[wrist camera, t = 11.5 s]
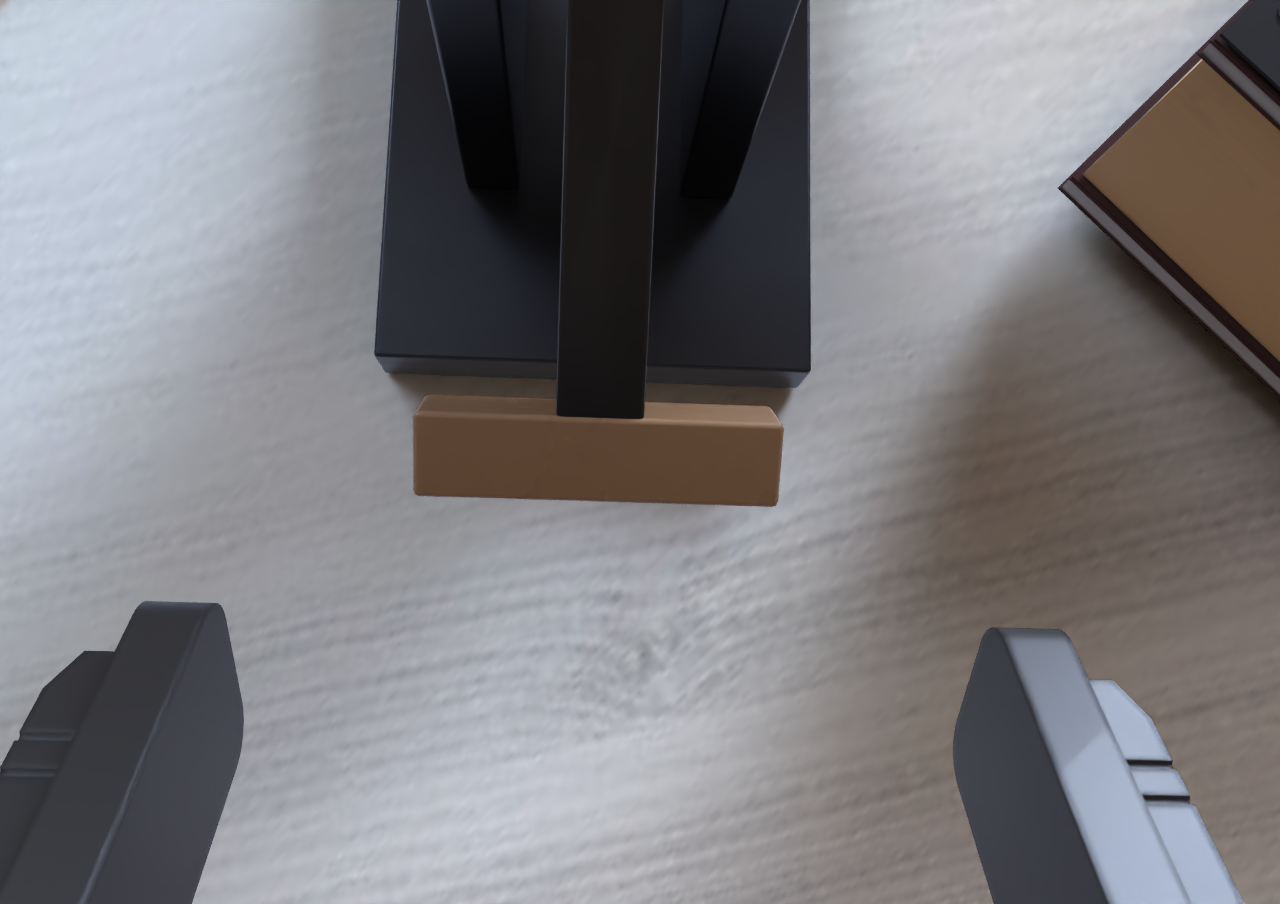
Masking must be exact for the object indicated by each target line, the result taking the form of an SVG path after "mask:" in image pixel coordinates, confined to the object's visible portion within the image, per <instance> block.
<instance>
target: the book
mask: <svg viewBox="0 0 1280 904" xmlns="http://www.w3.org/2000/svg"><path fill="white" fill-rule="evenodd" d="M1058 189H1059V190H1060V191H1061V192H1062V193H1063V194H1064V195H1065V196H1066V197H1067V198H1069V199H1070V200H1071V201H1072V202H1073V203H1074V204H1075V205H1076V206H1077V207H1078V208H1079V209H1080V210H1081V211H1082V212H1083V213H1084V214H1085V215H1086V216H1087V217H1089V218H1090V219H1091V220H1092V221H1093V222H1094V223H1095V224H1096V225H1097V226H1098V227H1099V228H1100V229H1101V230H1102V231H1103V232H1104V233H1105V234H1106V235H1107V236H1109V237H1110V238H1111V239H1112V240H1113V241H1114V242H1115V243H1116V244H1117V245H1118V246H1119V247H1120V248H1121V249H1122V250H1123V251H1124V252H1125V253H1126V254H1127V255H1129V256H1130V257H1131V258H1132V259H1133V260H1134V261H1135V262H1136V263H1137V264H1138V265H1139V266H1140V267H1141V268H1142V269H1143V270H1144V271H1145V272H1146V273H1147V274H1149V275H1150V276H1151V277H1152V278H1153V279H1154V280H1155V281H1156V282H1157V283H1158V284H1159V285H1160V286H1161V287H1162V288H1163V289H1164V290H1165V291H1166V292H1167V293H1169V294H1170V295H1171V296H1172V297H1173V298H1174V299H1175V300H1176V301H1177V302H1178V303H1179V304H1180V305H1181V306H1182V307H1183V308H1184V309H1185V310H1186V311H1187V312H1189V313H1190V314H1191V315H1192V316H1193V317H1194V318H1195V319H1196V320H1197V321H1198V322H1199V323H1200V324H1201V325H1202V326H1203V327H1204V328H1205V329H1206V330H1207V331H1209V332H1210V333H1211V334H1212V335H1213V336H1214V337H1215V338H1216V339H1217V340H1218V341H1219V342H1220V343H1221V344H1222V345H1223V346H1224V347H1225V348H1226V349H1227V350H1229V351H1230V352H1231V353H1232V354H1233V355H1234V356H1235V357H1236V358H1237V359H1238V360H1239V361H1240V362H1241V363H1242V364H1243V365H1244V366H1245V367H1246V368H1247V369H1249V370H1250V371H1251V372H1252V373H1253V374H1254V375H1255V376H1256V377H1257V378H1258V379H1259V380H1260V381H1261V382H1262V383H1263V384H1264V385H1265V386H1266V387H1267V388H1269V389H1270V390H1271V391H1272V392H1273V393H1274V394H1275V395H1276V396H1277V397H1278V398H1279V399H1280V0H1249V1H1248V2H1247V3H1246V4H1245V5H1244V6H1243V7H1242V8H1240V9H1239V10H1238V11H1237V12H1236V13H1235V14H1234V15H1233V16H1232V17H1231V18H1230V19H1229V20H1228V21H1227V22H1226V23H1225V24H1224V25H1223V26H1222V27H1221V28H1220V29H1219V30H1218V31H1217V32H1216V33H1215V34H1214V35H1213V36H1212V37H1211V38H1210V39H1209V40H1208V41H1207V42H1206V43H1205V44H1204V45H1203V46H1202V47H1201V48H1200V49H1199V50H1198V51H1197V52H1196V53H1195V54H1194V55H1193V56H1192V57H1191V58H1190V59H1189V60H1188V61H1187V62H1186V63H1185V64H1183V65H1182V66H1181V67H1180V68H1179V69H1178V70H1177V71H1176V72H1175V73H1174V74H1173V75H1172V76H1171V77H1170V78H1169V79H1168V80H1167V81H1166V82H1165V83H1164V84H1163V85H1162V86H1161V87H1160V88H1159V89H1158V90H1157V91H1156V92H1155V93H1154V94H1153V95H1152V96H1151V97H1150V98H1149V99H1148V100H1147V101H1146V102H1145V103H1144V104H1143V105H1142V106H1141V107H1140V108H1139V109H1138V110H1137V111H1136V112H1135V113H1134V114H1133V115H1132V116H1131V117H1130V118H1129V119H1127V120H1126V121H1125V122H1124V123H1123V124H1122V125H1121V126H1120V127H1119V128H1118V129H1117V130H1116V131H1115V132H1114V133H1113V134H1112V135H1111V136H1110V137H1109V138H1108V139H1107V140H1106V141H1105V142H1104V143H1103V144H1102V145H1101V146H1100V147H1099V148H1098V149H1097V150H1096V151H1095V152H1094V153H1093V154H1092V155H1091V156H1090V157H1089V158H1088V159H1087V160H1086V161H1085V162H1084V163H1083V164H1082V165H1081V166H1080V167H1079V168H1078V169H1077V170H1076V171H1075V172H1074V173H1073V174H1072V175H1070V176H1069V177H1068V178H1067V179H1066V180H1065V181H1064V182H1063V183H1062V184H1061V185H1060V186H1059V187H1058Z"/></svg>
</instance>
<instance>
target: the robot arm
mask: <svg viewBox="0 0 1280 904" xmlns="http://www.w3.org/2000/svg"><path fill="white" fill-rule="evenodd" d="M243 724H244V717H243V704H242V698H241V693H240V688H239V683H238V678H237V673H236V668H235V662H234V657H233V652H232V647H231V642H230V637H229V632H228V626H227V621H226V617H225V613H224V611H223V608H222V607H221V605H219V604H218V603H191V602H156V601H145V602H142V603H141V604H140V605H139V606H138V607H137V608H136V610H135V612H134V613H133V615H132V617H131V619H130V621H129V623H128V625H127V627H126V630H125V632H124V634H123V636H122V638H121V640H120V642H119V644H118V646H117V648H116V650H115V652H111V651H84V652H83V653H82V654H81V655H79V656H78V657H77V658H76V659H75V660H74V661H73V662H72V663H70V664H69V665H68V666H67V667H66V668H65V669H64V670H63V671H62V672H60V673H59V674H58V675H57V676H56V677H55V678H54V679H53V680H52V681H50V682H49V683H48V684H47V685H46V686H45V687H44V688H43V689H42V691H41V693H40V695H39V697H38V698H37V700H36V702H35V704H34V706H33V708H32V710H31V711H30V713H29V715H28V717H27V719H26V721H25V723H24V724H23V726H22V728H21V730H20V737H19V740H18V741H14V743H13V745H12V747H11V748H10V750H9V752H8V754H7V756H6V758H5V760H4V761H3V763H2V765H1V767H0V904H192V901H193V898H194V895H195V892H196V889H197V886H198V883H199V880H200V877H201V874H202V871H203V868H204V865H205V862H206V859H207V856H208V853H209V850H210V847H211V844H212V841H213V838H214V835H215V832H216V829H217V826H218V823H219V820H220V817H221V814H222V811H223V808H224V805H225V801H226V798H227V795H228V792H229V789H230V786H231V783H232V780H233V777H234V774H235V771H236V768H237V765H238V761H239V757H240V752H241V746H242V739H243ZM953 759H954V769H955V775H956V780H957V784H958V788H959V791H960V794H961V798H962V801H963V804H964V807H965V811H966V814H967V817H968V820H969V824H970V827H971V830H972V834H973V837H974V840H975V843H976V847H977V850H978V853H979V857H980V860H981V863H982V866H983V870H984V873H985V876H986V880H987V883H988V886H989V889H990V893H991V896H992V899H993V903H994V904H1244V902H1243V900H1242V898H1241V896H1240V894H1239V892H1238V890H1237V888H1236V886H1235V884H1234V882H1233V880H1232V878H1231V876H1230V874H1229V872H1228V870H1227V868H1226V866H1225V864H1224V862H1223V860H1222V858H1221V856H1220V854H1219V852H1218V850H1217V848H1216V846H1215V844H1214V842H1213V840H1212V838H1211V836H1210V834H1209V832H1208V830H1207V828H1206V826H1205V824H1204V822H1203V820H1202V818H1201V816H1200V814H1199V812H1198V810H1197V808H1196V806H1195V805H1191V804H1190V794H1189V792H1188V790H1187V788H1186V786H1185V784H1184V782H1183V781H1182V779H1181V777H1180V775H1179V773H1178V771H1177V769H1173V767H1172V759H1171V757H1170V755H1169V753H1168V751H1167V749H1166V747H1165V745H1164V743H1163V741H1162V739H1161V737H1160V735H1159V733H1158V731H1157V729H1156V727H1155V725H1154V723H1153V721H1152V719H1151V717H1150V716H1149V715H1148V714H1147V713H1146V712H1145V711H1144V710H1143V709H1142V708H1141V707H1140V706H1139V705H1138V704H1137V703H1136V702H1135V701H1134V700H1133V699H1131V698H1130V697H1129V696H1128V695H1127V694H1126V693H1125V692H1124V691H1123V690H1122V689H1121V688H1120V687H1119V686H1118V685H1117V684H1116V683H1115V682H1114V681H1113V680H1091V679H1088V677H1087V674H1086V672H1085V670H1084V668H1083V666H1082V664H1081V661H1080V659H1079V657H1078V655H1077V653H1076V651H1075V648H1074V646H1073V644H1072V642H1071V640H1070V638H1069V637H1068V636H1067V634H1066V633H1065V632H1063V631H1062V630H1059V629H1030V628H989V629H988V630H987V631H986V632H985V634H984V636H983V638H982V641H981V643H980V647H979V650H978V653H977V656H976V660H975V663H974V666H973V669H972V673H971V676H970V679H969V682H968V686H967V689H966V692H965V695H964V699H963V702H962V705H961V708H960V712H959V715H958V718H957V722H956V725H955V731H954V740H953Z"/></svg>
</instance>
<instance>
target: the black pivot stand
mask: <svg viewBox="0 0 1280 904" xmlns="http://www.w3.org/2000/svg"><path fill="white" fill-rule="evenodd" d="M566 34H567V0H397V14H396V29H395V44H394V59H393V75H392V90H391V105H390V121H389V136H388V151H387V166H386V182H385V197H384V212H383V227H382V243H381V258H380V273H379V289H378V304H377V319H376V334H375V350H374V354H375V357H376V358H377V360H378V361H379V363H380V364H381V366H382V368H383V369H384V371H385V372H387V373H407V374H435V375H462V376H490V377H517V378H545V379H557V353H558V318H559V282H560V247H561V211H562V176H563V140H564V105H565V70H566ZM810 370H811V290H810V0H664V18H663V39H662V60H661V80H660V101H659V122H658V143H657V164H656V184H655V205H654V226H653V247H652V268H651V289H650V309H649V330H648V351H647V372H646V382H655V383H682V384H710V385H737V386H765V387H792V388H796V387H798V386H799V384H800V383H801V382H802V381H803V380H804V378H805V377H806V376H807V375H808V374H809V372H810Z"/></svg>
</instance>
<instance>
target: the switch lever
mask: <svg viewBox="0 0 1280 904" xmlns="http://www.w3.org/2000/svg"><path fill="white" fill-rule="evenodd" d="M663 18H664V0H567V34H566V70H565V105H564V140H563V176H562V211H561V247H560V282H559V318H558V353H557V389H556V399H548V398H520V397H492V396H464V395H435V394H429V395H426V396H425V397H424V398H423V400H422V401H421V403H420V405H419V406H418V408H417V409H416V411H415V413H414V415H413V490H414V493H415V494H416V495H418V496H438V497H470V498H503V499H535V500H568V501H600V502H633V503H665V504H698V505H730V506H763V507H772V506H776V504H777V502H778V495H779V482H780V469H781V457H782V444H783V432H784V428H783V425H782V424H781V422H780V421H779V419H778V418H777V416H776V415H775V413H774V412H773V411H772V409H771V408H770V407H767V406H746V405H717V404H689V403H661V402H645V393H646V372H647V351H648V330H649V309H650V289H651V268H652V247H653V226H654V205H655V184H656V164H657V143H658V122H659V101H660V80H661V60H662V39H663Z"/></svg>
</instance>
